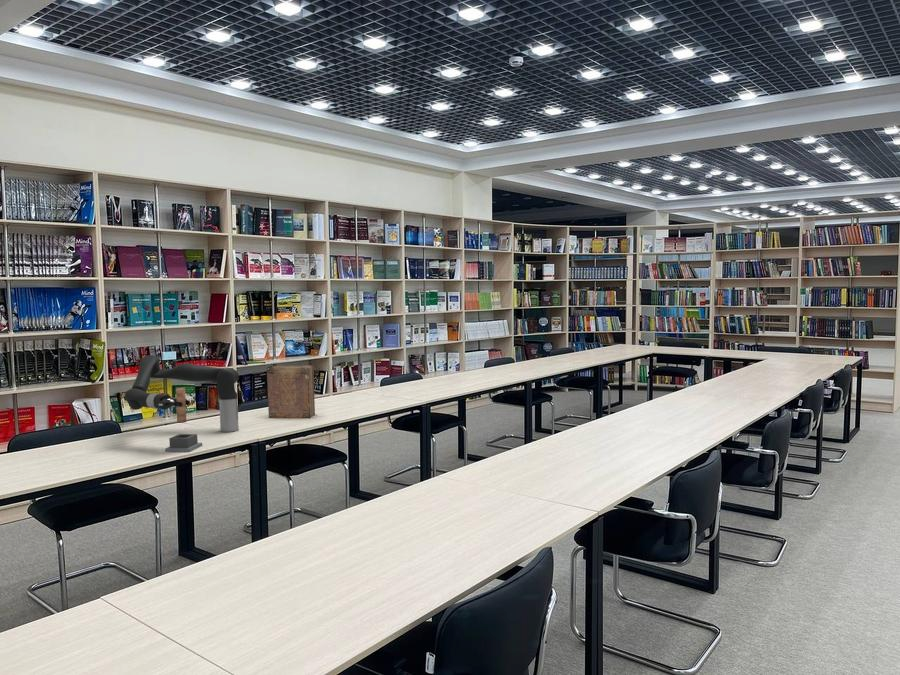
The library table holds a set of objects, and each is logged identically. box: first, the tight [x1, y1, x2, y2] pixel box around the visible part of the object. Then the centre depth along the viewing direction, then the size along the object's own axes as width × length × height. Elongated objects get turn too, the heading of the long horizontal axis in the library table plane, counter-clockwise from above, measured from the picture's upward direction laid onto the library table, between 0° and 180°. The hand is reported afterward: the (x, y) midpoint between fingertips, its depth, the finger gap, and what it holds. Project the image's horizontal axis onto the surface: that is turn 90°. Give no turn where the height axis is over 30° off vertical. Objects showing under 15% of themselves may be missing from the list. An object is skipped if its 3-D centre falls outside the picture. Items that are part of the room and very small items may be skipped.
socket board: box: [164, 433, 203, 453], centre depth 303 cm, size 12×12×6 cm
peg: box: [175, 387, 187, 424], centre depth 301 cm, size 4×4×16 cm
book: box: [266, 364, 316, 419], centre depth 377 cm, size 25×9×30 cm, turn 82°
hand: (185, 403), depth 300 cm, fingers closed on peg, 4 cm apart
